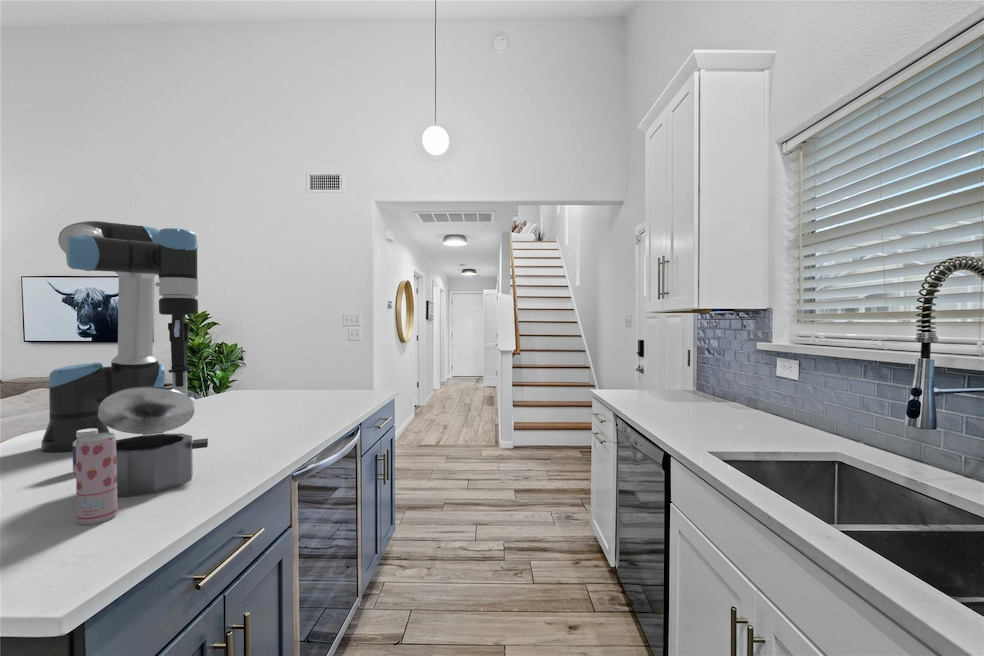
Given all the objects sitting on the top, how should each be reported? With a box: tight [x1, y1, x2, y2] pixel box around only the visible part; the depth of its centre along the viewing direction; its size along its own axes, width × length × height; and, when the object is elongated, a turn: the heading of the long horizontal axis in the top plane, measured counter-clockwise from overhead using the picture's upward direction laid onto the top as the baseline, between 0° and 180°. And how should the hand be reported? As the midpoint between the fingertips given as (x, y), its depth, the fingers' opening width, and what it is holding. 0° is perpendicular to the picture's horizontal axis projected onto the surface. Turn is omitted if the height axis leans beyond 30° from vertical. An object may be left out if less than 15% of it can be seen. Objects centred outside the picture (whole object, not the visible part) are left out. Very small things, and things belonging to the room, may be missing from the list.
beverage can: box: [75, 432, 119, 526], centre depth 87 cm, size 6×6×15 cm
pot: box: [116, 433, 209, 498], centre depth 106 cm, size 17×23×9 cm
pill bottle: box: [72, 429, 98, 474], centre depth 115 cm, size 5×5×10 cm
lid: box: [98, 386, 195, 436], centre depth 109 cm, size 18×18×3 cm
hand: (180, 400), depth 111 cm, fingers closed
